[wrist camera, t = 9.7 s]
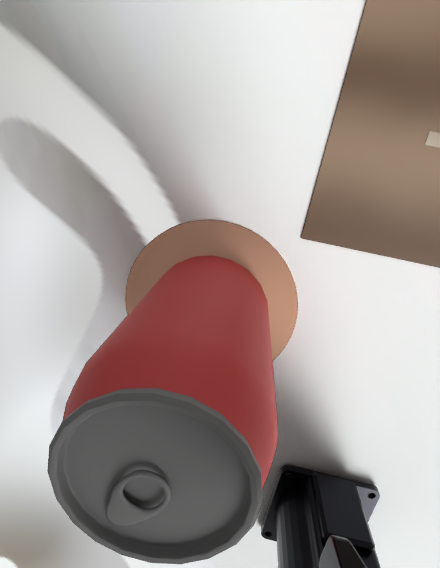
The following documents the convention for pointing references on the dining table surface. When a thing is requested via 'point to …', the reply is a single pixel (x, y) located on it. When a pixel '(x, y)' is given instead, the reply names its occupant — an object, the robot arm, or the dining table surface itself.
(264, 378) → the beer can
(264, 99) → the dining table surface
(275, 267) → the coaster
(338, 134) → the board
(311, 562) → the robot arm
